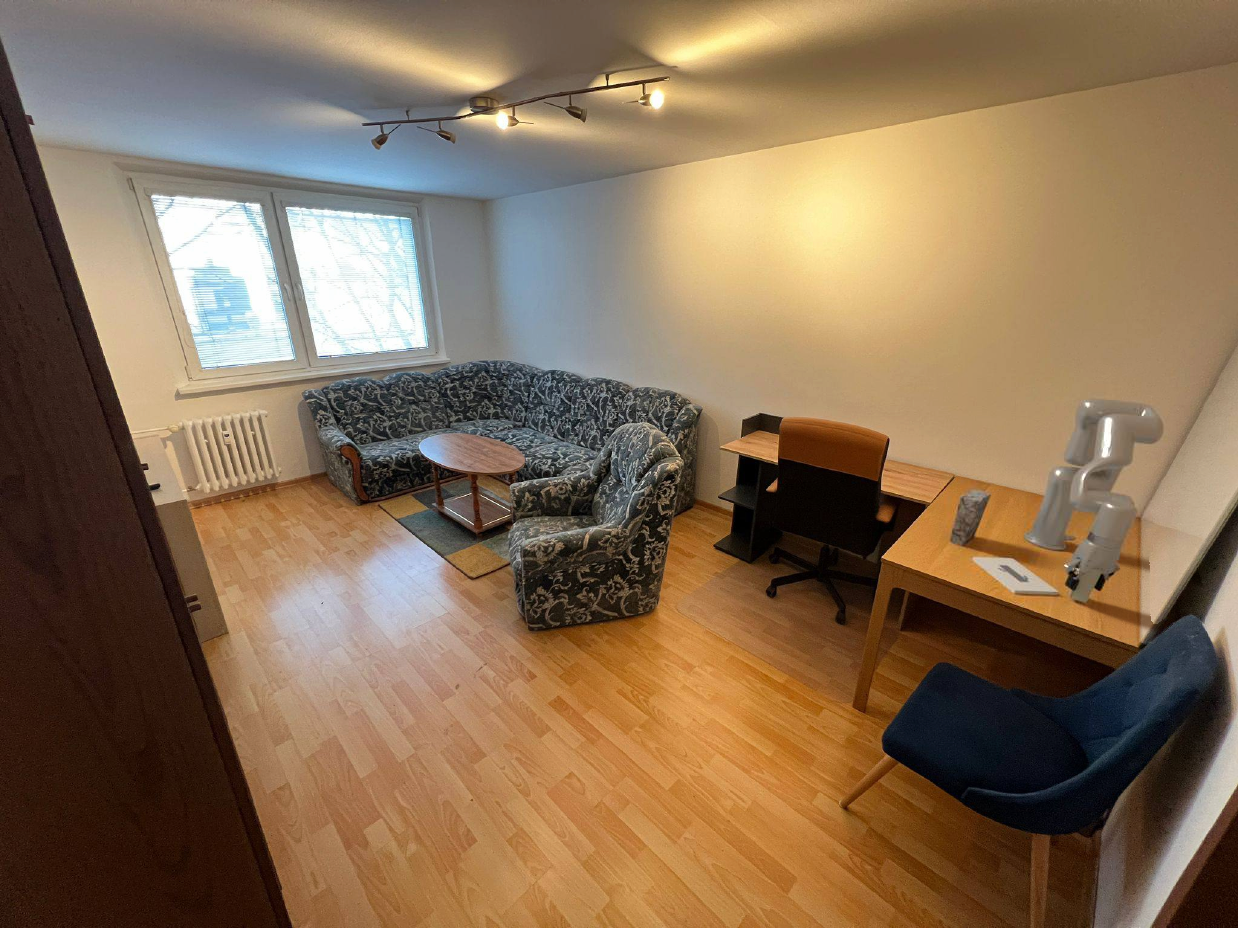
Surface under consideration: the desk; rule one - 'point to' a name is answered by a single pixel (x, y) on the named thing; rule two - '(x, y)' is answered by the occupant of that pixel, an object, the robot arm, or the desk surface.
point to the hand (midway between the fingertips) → (1082, 587)
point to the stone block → (969, 516)
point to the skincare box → (1085, 585)
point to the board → (1014, 576)
